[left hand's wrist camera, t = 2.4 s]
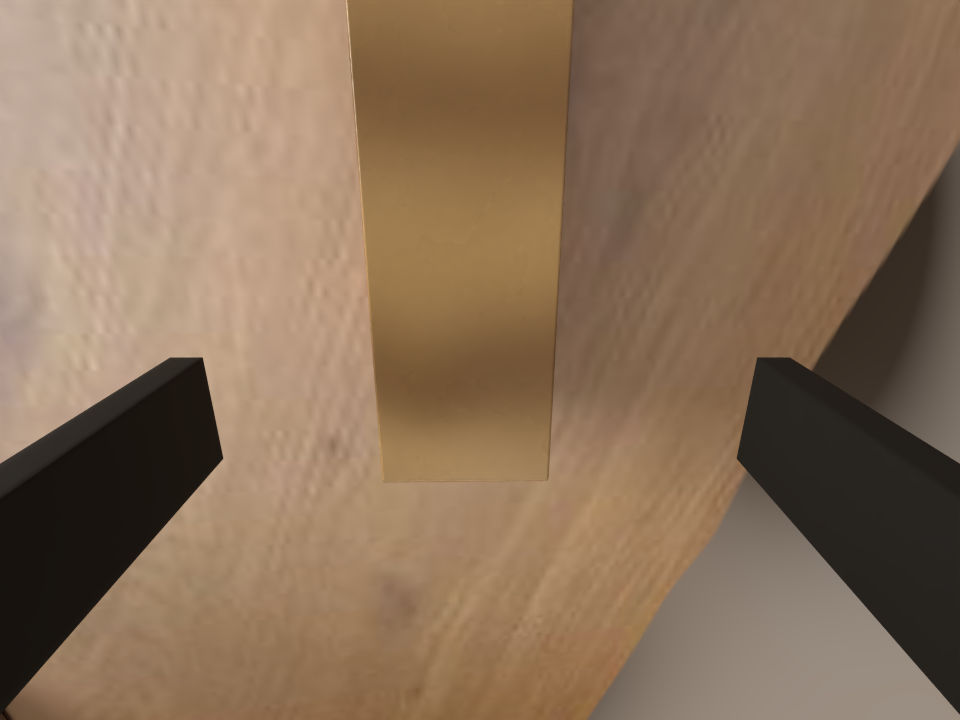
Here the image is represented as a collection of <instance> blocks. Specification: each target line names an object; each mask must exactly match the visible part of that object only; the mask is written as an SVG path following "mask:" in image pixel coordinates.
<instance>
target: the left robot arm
mask: <svg viewBox="0 0 960 720" xmlns="http://www.w3.org/2000/svg"><path fill="white" fill-rule="evenodd" d="M222 459H223V455H222V450H221V445H220V440H219V435H218V430H217V425H216V420H215V416H214V411H213V406H212V401H211V396H210V391H209V386H208V381H207V376H206V372H205V367H204V362H203V358H169V359H167V360H166V361H164V362H162V363H161V364H159V365H158V366H156V367H154V368H153V369H151V370H150V371H148V372H146V373H145V374H143V375H142V376H140V377H138V378H137V379H135V380H134V381H132V382H130V383H129V384H127V385H126V386H124V387H122V388H121V389H119V390H118V391H116V392H114V393H113V394H111V395H110V396H108V397H106V398H105V399H103V400H102V401H100V402H98V403H97V404H95V405H94V406H92V407H90V408H89V409H87V410H86V411H84V412H82V413H81V414H79V415H78V416H76V417H74V418H73V419H71V420H70V421H68V422H66V423H65V424H63V425H62V426H60V427H58V428H57V429H55V430H54V431H52V432H50V433H49V434H47V435H46V436H44V437H42V438H41V439H39V440H38V441H36V442H34V443H33V444H31V445H30V446H28V447H26V448H25V449H23V450H22V451H20V452H18V453H17V454H15V455H14V456H12V457H10V458H9V459H7V460H6V461H4V462H2V463H1V464H0V720H6V718H5V717H4V716H3V714H2V712H3V711H4V710H5V708H6V707H7V706H8V705H9V704H10V703H11V701H12V700H13V699H14V698H15V697H16V696H17V695H18V693H19V692H20V691H21V690H22V689H23V688H24V687H25V685H26V684H27V683H28V682H29V681H30V680H31V679H32V677H33V676H34V675H35V674H36V673H37V672H38V671H39V669H40V668H41V667H42V666H43V665H44V664H45V662H46V661H47V660H48V659H49V658H50V657H51V656H52V654H53V653H54V652H55V651H56V650H57V649H58V648H59V646H60V645H61V644H62V643H63V642H64V641H65V640H66V638H67V637H68V636H69V635H70V634H71V633H72V632H73V630H74V629H75V628H76V627H77V626H78V625H79V624H80V622H81V621H82V620H83V619H84V618H85V617H86V615H87V614H88V613H89V612H90V611H91V610H92V609H93V607H94V606H95V605H96V604H97V603H98V602H99V601H100V599H101V598H102V597H103V596H104V595H105V594H106V593H107V591H108V590H109V589H110V588H111V587H112V586H113V585H114V583H115V582H116V581H117V580H118V579H119V578H120V576H121V575H122V574H123V573H124V572H125V571H126V570H127V568H128V567H129V566H130V565H131V564H132V563H133V562H134V560H135V559H136V558H137V557H138V556H139V555H140V554H141V552H142V551H143V550H144V549H145V548H146V547H147V546H148V544H149V543H150V542H151V541H152V540H153V539H154V537H155V536H156V535H157V534H158V533H159V532H160V531H161V529H162V528H163V527H164V526H165V525H166V524H167V523H168V521H169V520H170V519H171V518H172V517H173V516H174V515H175V513H176V512H177V511H178V510H179V509H180V508H181V507H182V505H183V504H184V503H185V502H186V501H187V500H188V498H189V497H190V496H191V495H192V494H193V493H194V492H195V490H196V489H197V488H198V487H199V486H200V485H201V484H202V482H203V481H204V480H205V479H206V478H207V477H208V476H209V474H210V473H211V472H212V471H213V470H214V469H215V468H216V466H217V465H218V464H219V463H220V462H221V461H222ZM737 459H738V461H739V462H740V463H741V464H742V465H743V466H744V468H745V469H746V470H747V471H748V472H749V473H750V474H751V476H752V477H753V478H754V479H755V480H756V481H757V482H758V484H759V485H760V486H761V487H762V488H763V489H764V490H765V492H766V493H767V494H768V495H769V496H770V497H771V498H772V500H773V501H774V502H775V503H776V504H777V505H778V506H779V508H780V509H781V510H782V511H783V512H784V513H785V514H786V516H787V517H788V518H789V519H790V520H791V521H792V523H793V524H794V525H795V526H796V527H797V528H798V529H799V531H800V532H801V533H802V534H803V535H804V536H805V537H806V539H807V540H808V541H809V542H810V543H811V544H812V546H813V547H814V548H815V549H816V550H817V551H818V552H819V554H820V555H821V556H822V557H823V558H824V559H825V560H826V562H827V563H828V564H829V565H830V566H831V567H832V568H833V570H834V571H835V572H836V573H837V574H838V575H839V576H840V578H841V579H842V580H843V581H844V582H845V583H846V584H847V586H848V587H849V588H850V589H851V590H852V591H853V593H854V594H855V595H856V596H857V597H858V598H859V599H860V601H861V602H862V603H863V604H864V605H865V606H866V607H867V609H868V610H869V611H870V612H871V613H872V614H873V615H874V617H875V618H876V619H877V620H878V621H879V622H880V623H881V625H882V626H883V627H884V628H885V629H886V630H887V632H888V633H889V634H890V635H891V636H892V637H893V638H894V640H895V641H896V642H897V643H898V644H899V645H900V646H901V648H902V649H903V650H904V651H905V652H906V653H907V654H908V656H909V657H910V658H911V659H912V660H913V661H914V662H915V664H916V665H917V666H918V667H919V668H920V669H921V671H922V672H923V673H924V674H925V675H926V676H927V677H928V679H929V680H930V681H931V682H932V683H933V684H934V685H935V687H936V688H937V689H938V690H939V691H940V692H941V693H942V695H943V696H944V697H945V698H946V699H947V700H948V701H949V703H950V704H951V705H952V706H953V707H954V708H955V710H956V711H957V712H958V713H959V714H960V464H959V463H958V462H956V461H954V460H953V459H951V458H950V457H948V456H946V455H945V454H943V453H942V452H940V451H938V450H937V449H935V448H934V447H932V446H930V445H929V444H927V443H926V442H924V441H922V440H921V439H919V438H918V437H916V436H914V435H913V434H911V433H910V432H908V431H906V430H905V429H903V428H902V427H900V426H898V425H897V424H895V423H894V422H892V421H890V420H889V419H887V418H886V417H884V416H882V415H881V414H879V413H878V412H876V411H874V410H873V409H871V408H870V407H868V406H866V405H865V404H863V403H862V402H860V401H858V400H857V399H855V398H854V397H852V396H850V395H849V394H847V393H846V392H844V391H842V390H841V389H839V388H838V387H836V386H834V385H833V384H831V383H830V382H828V381H826V380H825V379H823V378H822V377H820V376H818V375H817V374H815V373H814V372H812V371H810V370H809V369H807V368H806V367H804V366H802V365H801V364H799V363H798V362H796V361H794V360H793V359H791V358H757V362H756V367H755V372H754V376H753V381H752V386H751V391H750V396H749V401H748V406H747V411H746V416H745V420H744V425H743V430H742V435H741V440H740V445H739V450H738V455H737Z"/></svg>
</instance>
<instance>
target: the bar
mask: <svg viewBox="0 0 960 720" xmlns="http://www.w3.org/2000/svg"><path fill="white" fill-rule="evenodd" d="M345 3H346V16H347V29H348V42H349V55H350V68H351V81H352V94H353V107H354V120H355V133H356V146H357V159H358V171H359V184H360V197H361V210H362V223H363V236H364V249H365V262H366V275H367V288H368V301H369V314H370V326H371V339H372V352H373V365H374V378H375V391H376V404H377V417H378V430H379V443H380V456H381V469H382V480H383V482H468V481H547V480H548V476H549V458H550V439H551V421H552V402H553V384H554V366H555V347H556V329H557V310H558V292H559V274H560V255H561V237H562V218H563V200H564V181H565V163H566V145H567V126H568V108H569V89H570V71H571V53H572V34H573V16H574V0H345Z"/></svg>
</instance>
